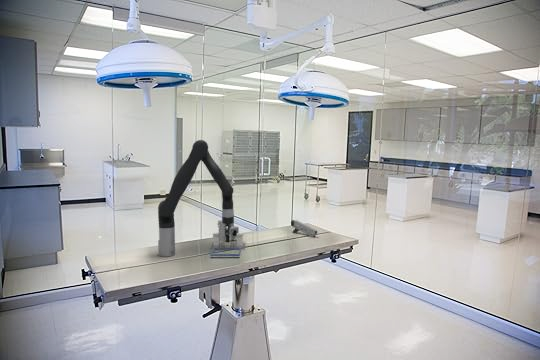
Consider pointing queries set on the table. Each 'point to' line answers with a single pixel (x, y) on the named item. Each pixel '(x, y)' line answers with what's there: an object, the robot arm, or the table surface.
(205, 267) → the table surface
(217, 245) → the left fuse
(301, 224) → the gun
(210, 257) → the tray
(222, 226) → the circuit breaker
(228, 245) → the block
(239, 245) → the right fuse
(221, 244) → the fuse holder
